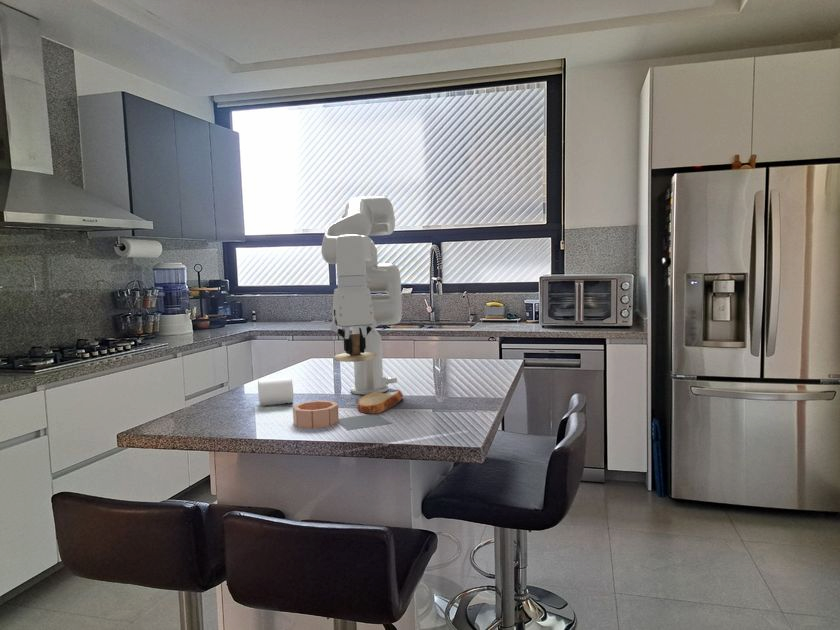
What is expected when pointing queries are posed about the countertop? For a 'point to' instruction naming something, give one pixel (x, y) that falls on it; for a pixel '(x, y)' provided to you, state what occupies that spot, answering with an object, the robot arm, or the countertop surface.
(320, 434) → the countertop surface
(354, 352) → the lid
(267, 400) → the mug
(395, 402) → the bread slice
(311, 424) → the bowl
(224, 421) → the countertop surface
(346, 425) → the mat
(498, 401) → the countertop surface
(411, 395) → the countertop surface
